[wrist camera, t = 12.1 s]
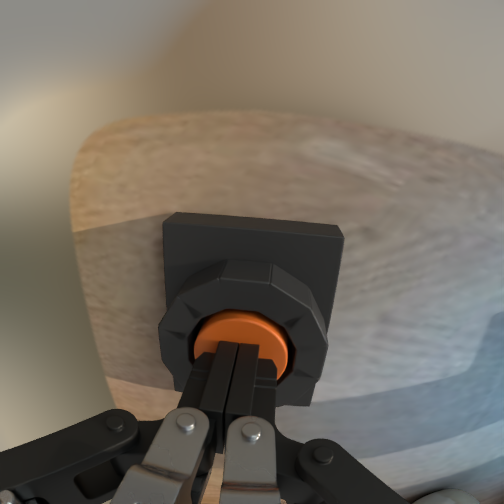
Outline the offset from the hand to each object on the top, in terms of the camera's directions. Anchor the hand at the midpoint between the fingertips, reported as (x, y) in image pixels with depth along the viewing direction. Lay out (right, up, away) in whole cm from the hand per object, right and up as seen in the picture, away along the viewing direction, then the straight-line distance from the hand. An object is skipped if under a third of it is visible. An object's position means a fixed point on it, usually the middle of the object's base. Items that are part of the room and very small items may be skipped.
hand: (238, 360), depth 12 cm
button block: (0, +1, +3) cm, 4 cm away
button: (0, +1, +2) cm, 2 cm away
